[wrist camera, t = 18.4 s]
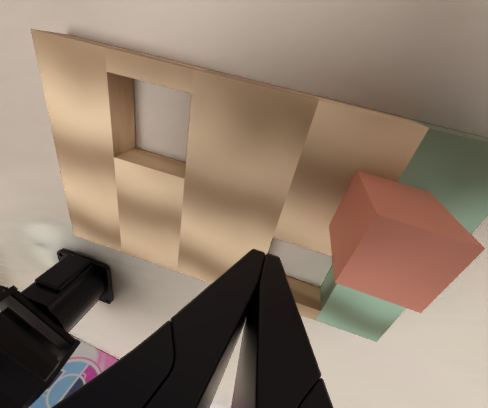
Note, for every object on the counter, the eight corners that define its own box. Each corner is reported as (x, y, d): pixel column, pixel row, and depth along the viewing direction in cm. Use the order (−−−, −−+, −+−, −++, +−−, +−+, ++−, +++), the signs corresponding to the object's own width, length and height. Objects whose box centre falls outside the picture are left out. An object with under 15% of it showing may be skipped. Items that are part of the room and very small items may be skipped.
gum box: (167, 383, 39) (105, 516, 27) (157, 400, 43) (100, 521, 31) (35, 315, 39) (-83, 418, 27) (38, 338, 43) (-63, 436, 31)
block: (390, 245, 15) (420, 312, 11) (328, 225, 16) (334, 282, 11) (429, 191, 13) (484, 248, 9) (357, 170, 14) (377, 214, 9)
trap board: (370, 315, 22) (376, 341, 20) (94, 221, 25) (73, 235, 23) (504, 142, 13) (539, 155, 11) (66, 34, 17) (30, 28, 14)
